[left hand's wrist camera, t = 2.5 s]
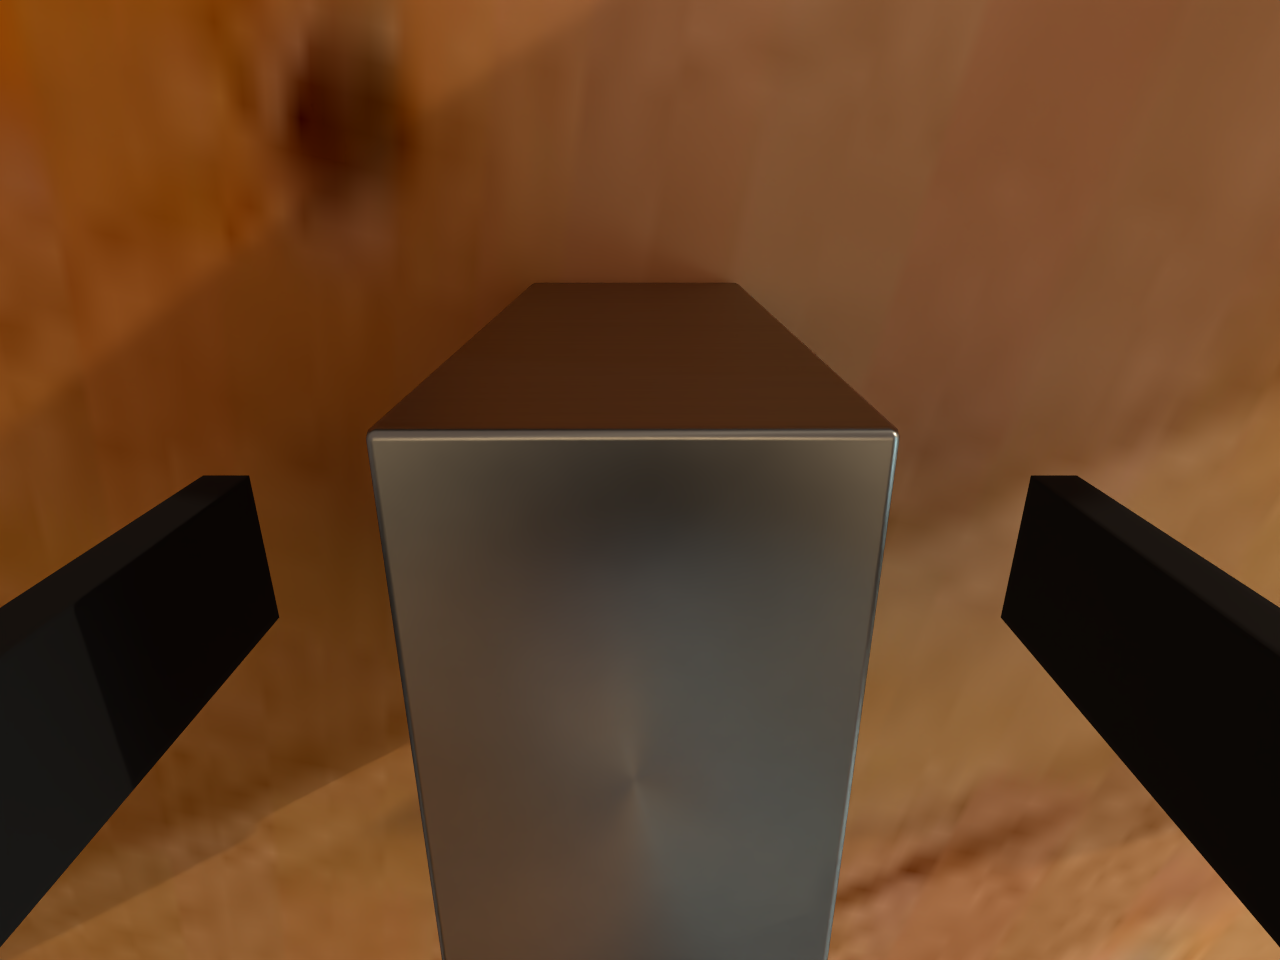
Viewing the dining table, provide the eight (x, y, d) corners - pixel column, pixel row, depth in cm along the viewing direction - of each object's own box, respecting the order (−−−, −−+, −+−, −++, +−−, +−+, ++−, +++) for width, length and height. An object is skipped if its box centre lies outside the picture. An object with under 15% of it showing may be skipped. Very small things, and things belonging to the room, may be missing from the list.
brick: (547, 583, 19) (447, 1020, 9) (531, 282, 16) (360, 430, 6) (724, 583, 19) (822, 1018, 9) (739, 282, 16) (904, 429, 6)
